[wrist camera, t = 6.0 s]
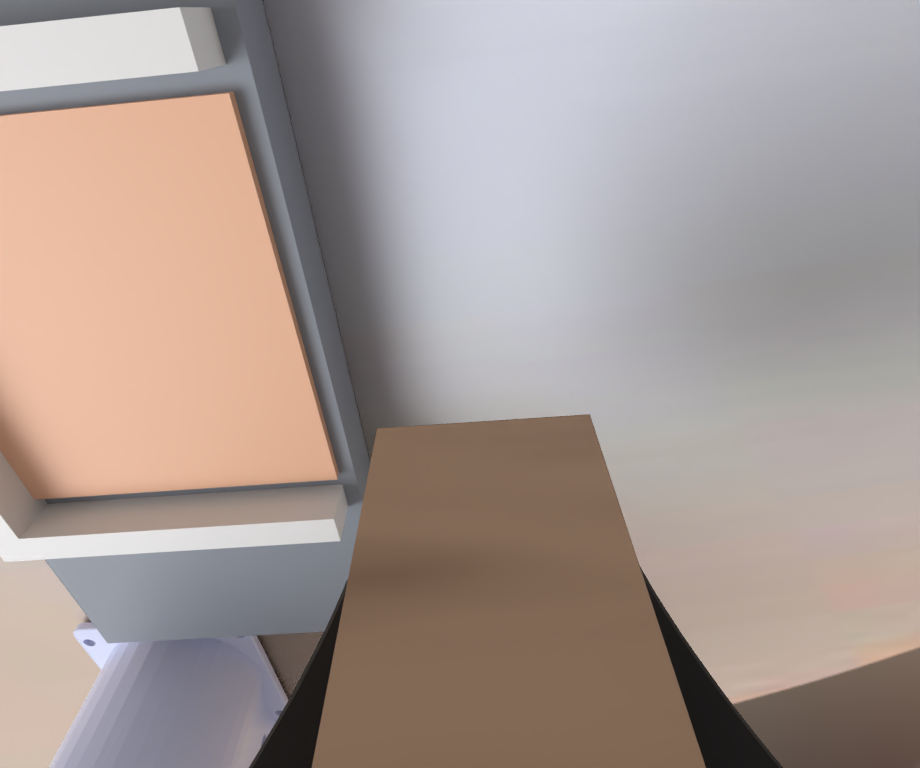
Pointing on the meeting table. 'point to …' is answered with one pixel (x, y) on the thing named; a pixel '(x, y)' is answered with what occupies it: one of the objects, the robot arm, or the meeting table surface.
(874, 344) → the meeting table surface
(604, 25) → the meeting table surface
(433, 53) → the meeting table surface
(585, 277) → the meeting table surface
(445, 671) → the brown rectangular block
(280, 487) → the frame
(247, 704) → the robot arm
